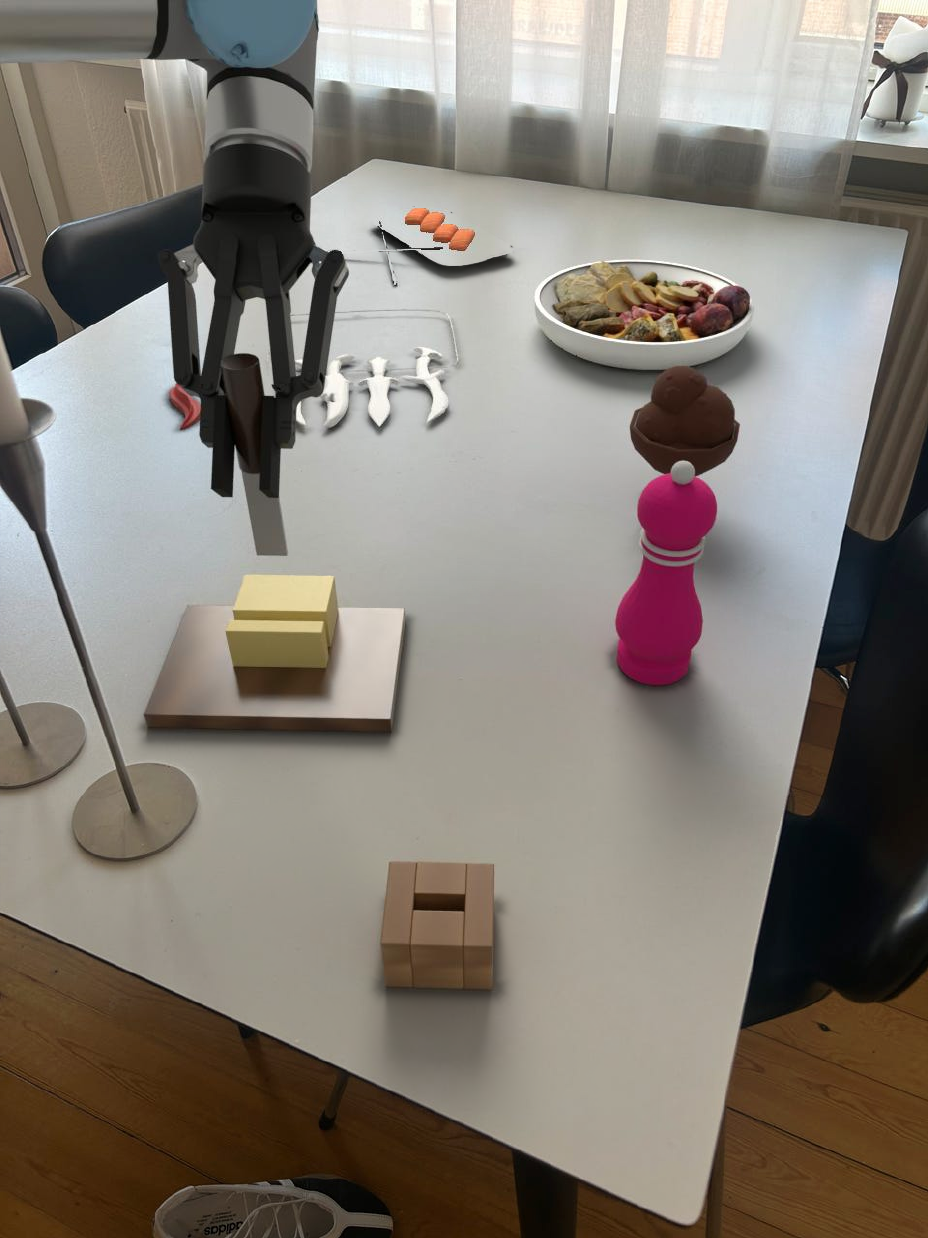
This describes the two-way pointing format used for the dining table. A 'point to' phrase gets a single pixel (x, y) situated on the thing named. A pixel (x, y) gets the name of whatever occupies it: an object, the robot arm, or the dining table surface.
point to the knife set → (377, 383)
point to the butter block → (288, 599)
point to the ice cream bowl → (685, 423)
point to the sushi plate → (439, 229)
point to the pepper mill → (666, 578)
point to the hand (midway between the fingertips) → (245, 492)
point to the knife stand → (438, 925)
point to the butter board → (281, 678)
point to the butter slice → (277, 643)
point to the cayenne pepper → (185, 405)
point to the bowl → (643, 313)
